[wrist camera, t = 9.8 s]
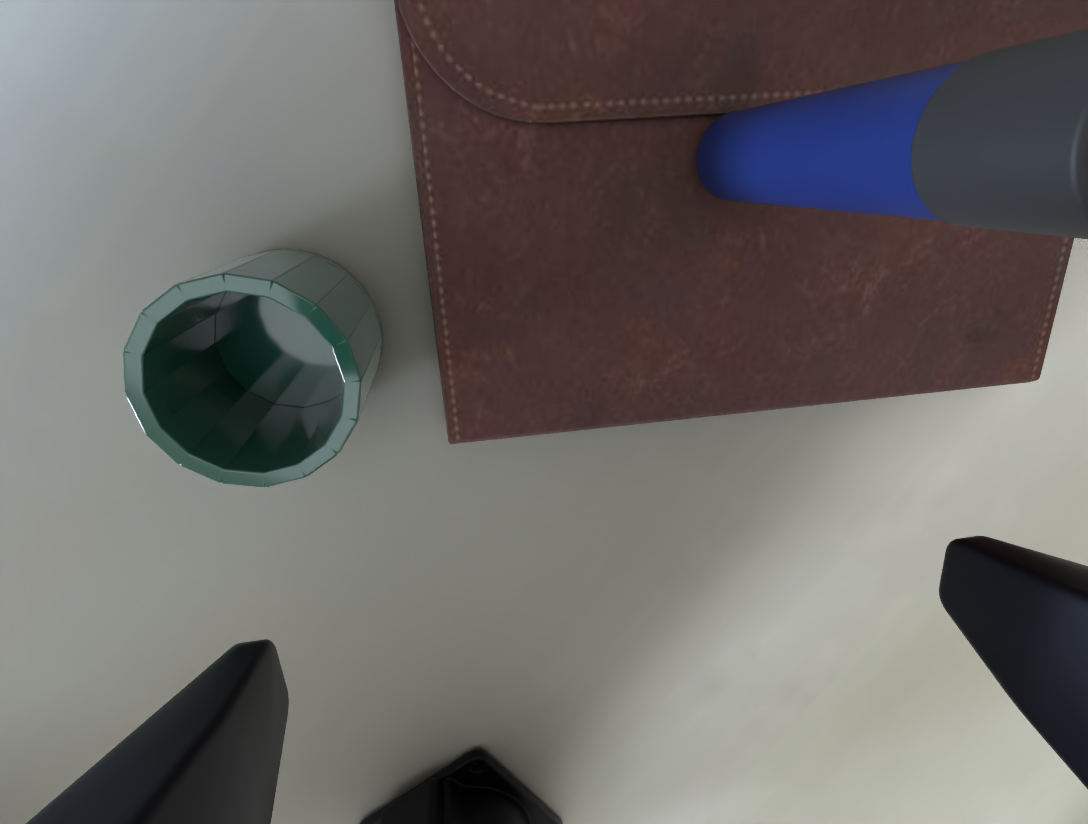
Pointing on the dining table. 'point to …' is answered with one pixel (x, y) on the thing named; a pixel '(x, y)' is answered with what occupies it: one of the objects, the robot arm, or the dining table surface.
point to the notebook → (692, 215)
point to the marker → (925, 144)
